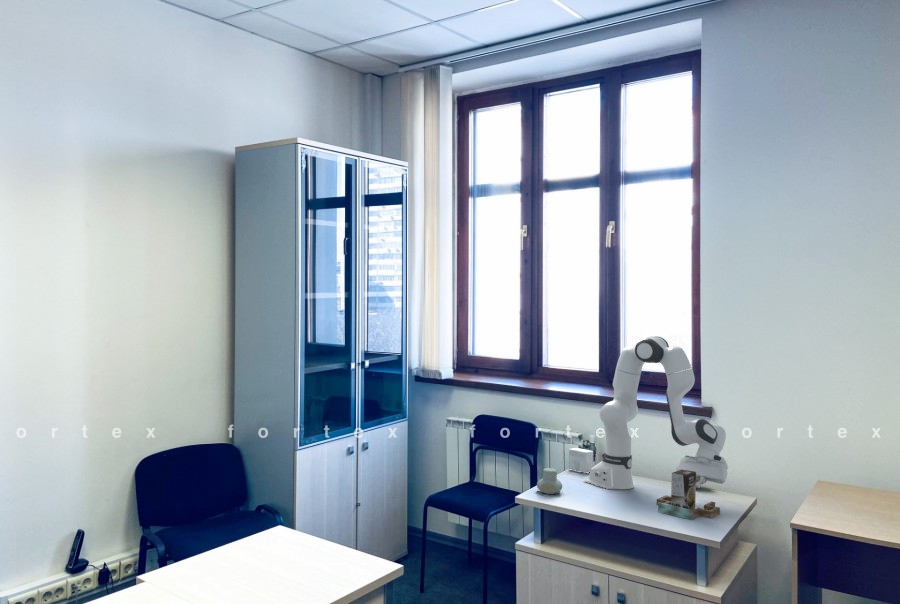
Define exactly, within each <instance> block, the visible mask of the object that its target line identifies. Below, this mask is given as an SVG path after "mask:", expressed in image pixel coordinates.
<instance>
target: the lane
mask: <svg viewBox="0 0 900 604" xmlns="http://www.w3.org/2000/svg"><path fill="white" fill-rule="evenodd" d="M656 506H657V512H658V513H661V512H662V513H661V514H667V515H670V516H674V517H678V518H682V519H686V520H690V521H693V520H694V519H696V517H697V518H698V517H704V518H709V519H713V518H715V517H717V516H719V515H720V514H721V508H720V506H716V502H715V501H710V502H707V503H706V504H703V508H702V507H701V508H700V507H697V508H695V510H690V509H686V508H682V507H677V506H673V505H671V495H666V494H665V495H663V496H661V497H659V498H656Z"/></svg>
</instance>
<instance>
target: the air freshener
mask: <svg viewBox="0 0 900 604" xmlns="http://www.w3.org/2000/svg"><path fill="white" fill-rule="evenodd" d="M557 472H558V470H557V469H556V468H552V467H545V468H543V470H542V478H540V479H539V480H538V481H537V482H536V487H537V489H538V491H540V492H541V493H543V494H545V493H546V495H556V494H558V493H560V491H562V489H563V483H562V482H561V481H560V480H559V479H558V475H557Z"/></svg>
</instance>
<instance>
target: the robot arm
mask: <svg viewBox="0 0 900 604" xmlns="http://www.w3.org/2000/svg"><path fill="white" fill-rule="evenodd" d="M645 363H646V364H647V363H648V364H651V363H652V364H658V363H659V364H661V365H662V368H663V369H664V372H665V376H666V379H667V380H666V381H667V388H666V390H665V391H666V392H665V394H666V395H665V396H666V402H667V407H668V409H667V410H668V413H669V414H668V415H669V420H670V425H671V426H670V427H671V431H670V433H671V438H672V439H673V440H674V442H675V443H676V444H677V445H679V446H681V447H685V446H688V445H692V444H693V445H694V444H697V445H698V448H697V451H696V453H695V456H690V455H684V456H682V457H681V458H680V460H679V462H678V464H677V465H676V467H675V470H676V471H679V470H681V469H682V470H688V471H694V472H696V480H697V479H701V480H700V481H699V482H696V489H697V488H698V489H700V488H701V486H702V485H704V484H705V483H704V482H705V480H706V482H711V483H712V482H713V483H715V484H716V483H717V484H721V485H723V484H724V483H726V480H727V476H728V471H727V470H728V469H729V466H728V463H727V460H725V458H724V457H722V456H721V455H720V453H721V452H722V451H723V449H724V446H725V442H726V438H727V437H726V436H727V433H726V429H724V427H722V425H719V424H716V423H710V422H709V421H708V420H707V419H704V418H699V419H693V420H687V421H686V420H685V416H684V410H683V405H682V401H683V398H684V396H685V395H687V393H689V392H690V391H691V390H692V388H693V387H694V385H695V381H696V377H695V374H694V371H693V368H692V365H691V363H690V360H689V358H688V356H687V354H686V352H685V350H684V349H683V348H682V347H680V346H669V343H668V341H667V340H666V339H665V338H663V337H661V336H656V335H655V336H648V337H645V338H642V339H640V340H638V342H636V344H635V346H627V347H626V346H625V347H624V348H623V349H622V350H621V353H620V355H619V357H618V360H617V363H616V367H615V372H614V377H613V380H612V387H613V400H611V401H608V402H606V403H605V404H603V406H602V407H601V408H600V411H599V418H600V420H601V421H602V423H603V426H604V432H605V443H606V444H605V445H606V446H605V453H603V454H601V455H600V458H602V460H601V461H600V462H598V463H597V464H595V465H593V467H592V468H591V470H590V473H588V474H589V475H588V476H587V477H585V478H584V479H583V480H584V481H585V482H584V481H583V482H584V483H586V482H587V484H589V483H591V484H590V485H593V484H594V485H593V486H596V485H597V486H596V487H599V486H600V488H602V487H603V489H605V488H606V489H607V490H630V489H633V488H634V487H635V484H634V481H633V474H632V466H633V456H632V436H631V435H630V433H629V432H630V431H629V428H628V423H629V422H631V421H633V420H634V419H635V418H636V417H637V415H638V413H639V407H638V404H637V403H638V388H639V383H640V381H641V375H642V370H643V367H644V364H645ZM676 471H675V472H676ZM703 483H704V484H703ZM606 489H605V490H606Z"/></svg>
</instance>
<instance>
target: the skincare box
mask: <svg viewBox="0 0 900 604" xmlns="http://www.w3.org/2000/svg"><path fill="white" fill-rule="evenodd" d="M592 467H594V451H593V450H591V449H584V448H579V447H574V448H573V447H572V448H569V449H568V471H570V470H569V469H572V470H576V471H581V472H585V473H586V472H589V471H590V470H591V468H592ZM576 471H575V472H576Z"/></svg>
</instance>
